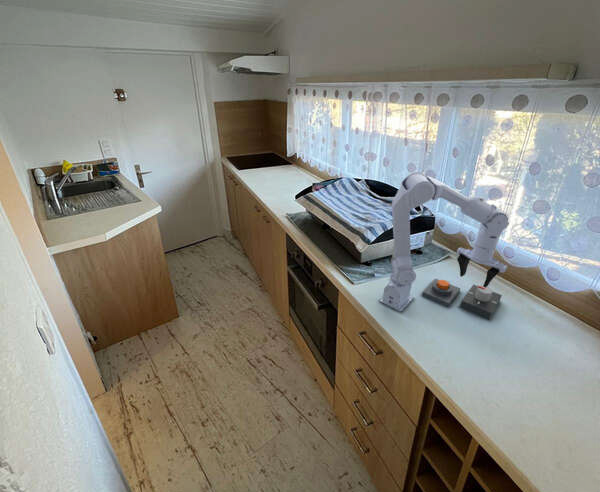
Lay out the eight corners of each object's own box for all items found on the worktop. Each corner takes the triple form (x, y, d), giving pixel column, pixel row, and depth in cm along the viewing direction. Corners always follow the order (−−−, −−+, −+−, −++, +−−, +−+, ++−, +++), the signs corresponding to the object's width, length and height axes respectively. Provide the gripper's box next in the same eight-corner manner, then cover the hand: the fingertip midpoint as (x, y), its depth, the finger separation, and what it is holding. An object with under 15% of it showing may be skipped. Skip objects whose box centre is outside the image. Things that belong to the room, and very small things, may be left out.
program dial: (491, 297, 102) (494, 288, 101) (487, 303, 100) (490, 294, 98) (477, 291, 105) (480, 282, 103) (472, 297, 102) (475, 288, 100)
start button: (445, 291, 105) (446, 287, 105) (435, 287, 108) (436, 283, 107) (449, 286, 108) (450, 282, 107) (439, 282, 110) (440, 278, 109)
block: (447, 307, 103) (450, 299, 101) (421, 295, 108) (423, 287, 107) (459, 291, 110) (461, 284, 108) (434, 281, 115) (436, 274, 114)
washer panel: (489, 320, 97) (491, 312, 96) (459, 307, 103) (461, 300, 101) (499, 301, 105) (502, 294, 103) (471, 290, 110) (473, 283, 109)
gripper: (516, 250, 92) (502, 286, 98) (468, 232, 102) (458, 266, 108) (506, 258, 88) (492, 295, 95) (457, 239, 98) (448, 273, 105)
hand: (473, 280), depth 101 cm, fingers open, 7 cm apart
